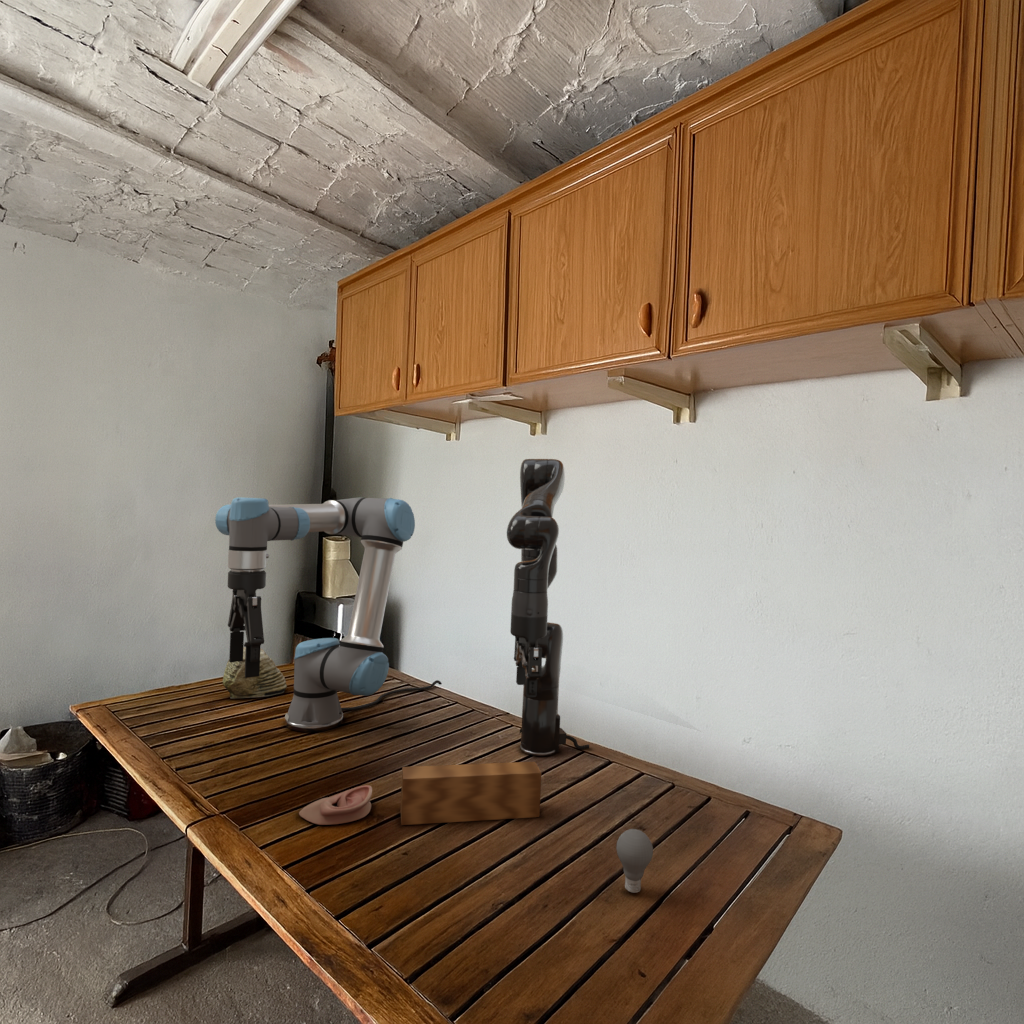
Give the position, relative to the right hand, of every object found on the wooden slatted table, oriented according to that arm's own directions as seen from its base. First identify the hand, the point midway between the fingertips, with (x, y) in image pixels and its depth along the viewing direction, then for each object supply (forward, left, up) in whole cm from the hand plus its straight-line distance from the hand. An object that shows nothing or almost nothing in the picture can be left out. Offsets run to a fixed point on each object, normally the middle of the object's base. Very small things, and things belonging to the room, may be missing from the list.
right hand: (526, 690), depth 131 cm
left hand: (+57, -20, +1) cm, 61 cm away
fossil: (+62, -86, -25) cm, 109 cm away
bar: (+11, -1, -25) cm, 27 cm away
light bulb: (-11, +30, -25) cm, 40 cm away
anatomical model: (+37, -6, -25) cm, 45 cm away
